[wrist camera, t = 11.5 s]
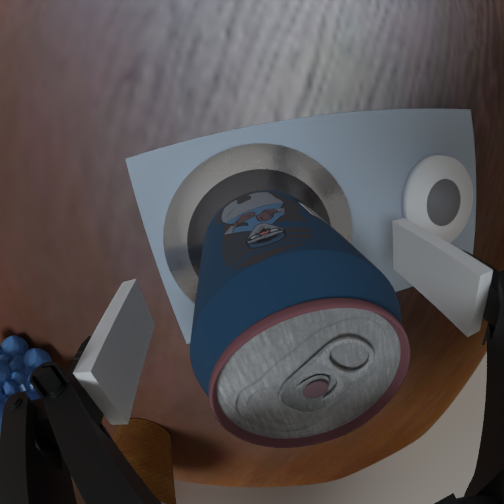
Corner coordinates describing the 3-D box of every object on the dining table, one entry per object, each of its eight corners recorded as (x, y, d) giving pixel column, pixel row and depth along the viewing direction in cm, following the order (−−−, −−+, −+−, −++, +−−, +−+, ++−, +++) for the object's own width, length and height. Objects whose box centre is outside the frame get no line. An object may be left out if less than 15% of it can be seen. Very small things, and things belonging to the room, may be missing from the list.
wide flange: (333, 129, 17) (340, 128, 16) (351, 294, 22) (357, 301, 21) (144, 169, 17) (139, 171, 16) (195, 331, 22) (194, 340, 21)
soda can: (268, 310, 20) (311, 469, 9) (182, 253, 18) (139, 413, 7) (338, 232, 19) (458, 350, 8) (253, 162, 17) (317, 212, 5)
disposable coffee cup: (188, 456, 30) (186, 539, 19) (115, 448, 29) (100, 525, 18) (181, 413, 27) (174, 517, 16) (94, 402, 26) (66, 495, 14)
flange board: (461, 109, 18) (479, 109, 16) (464, 260, 23) (478, 269, 21) (130, 157, 18) (119, 160, 16) (188, 334, 23) (185, 352, 21)
